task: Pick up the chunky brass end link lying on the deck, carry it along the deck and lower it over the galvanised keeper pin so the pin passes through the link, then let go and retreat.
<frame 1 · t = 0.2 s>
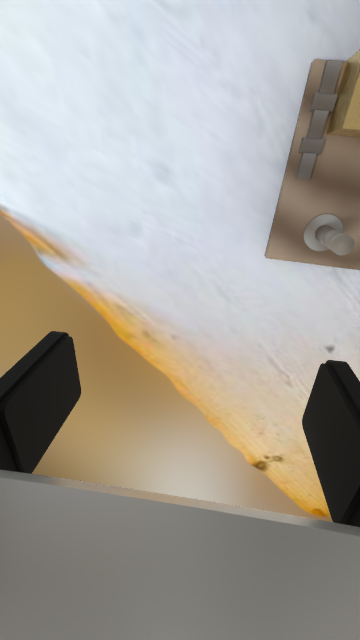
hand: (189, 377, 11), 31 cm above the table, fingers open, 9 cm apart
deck: (336, 178, 33), on the table
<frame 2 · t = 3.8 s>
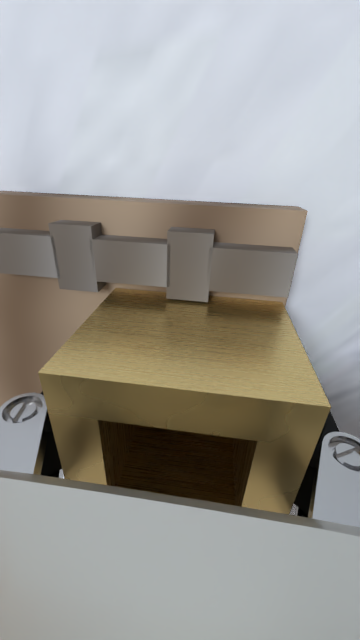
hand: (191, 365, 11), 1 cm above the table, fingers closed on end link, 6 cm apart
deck: (49, 331, 13), on the table
end link: (191, 362, 12), point 1 cm above the table, touching gripper
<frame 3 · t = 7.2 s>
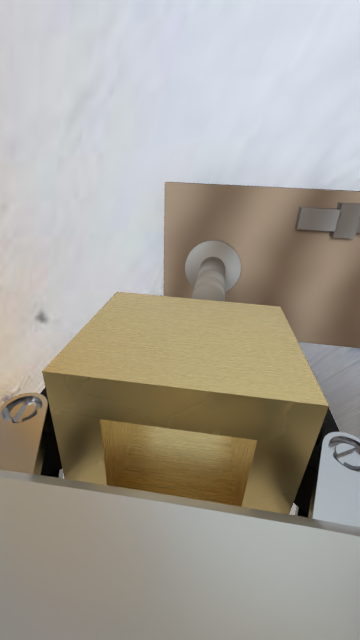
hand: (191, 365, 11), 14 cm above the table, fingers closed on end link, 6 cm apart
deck: (286, 269, 23), on the table
end link: (191, 366, 12), point 14 cm above the table, touching gripper
when the fingers open (2 cm above the table, at t = 10.3 s): end link stays where it is, resting on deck.
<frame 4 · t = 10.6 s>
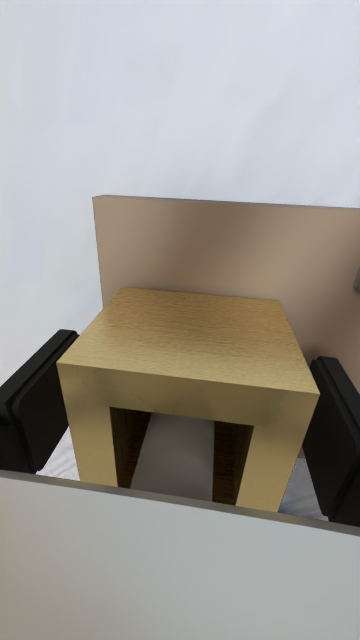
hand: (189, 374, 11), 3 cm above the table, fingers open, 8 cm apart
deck: (326, 348, 13), on the table
end link: (193, 358, 12), point 2 cm above the table, touching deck
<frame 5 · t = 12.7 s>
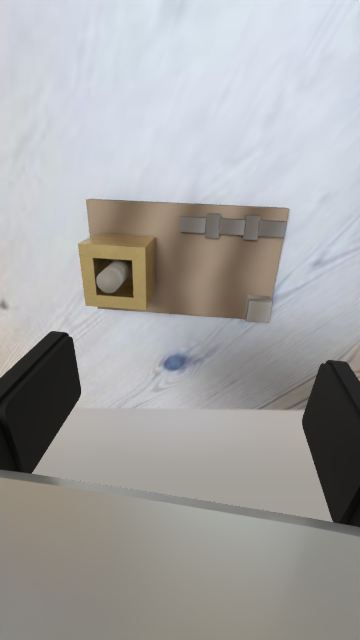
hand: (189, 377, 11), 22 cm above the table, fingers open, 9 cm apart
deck: (183, 261, 31), on the table
end link: (127, 263, 30), point 2 cm above the table, touching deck
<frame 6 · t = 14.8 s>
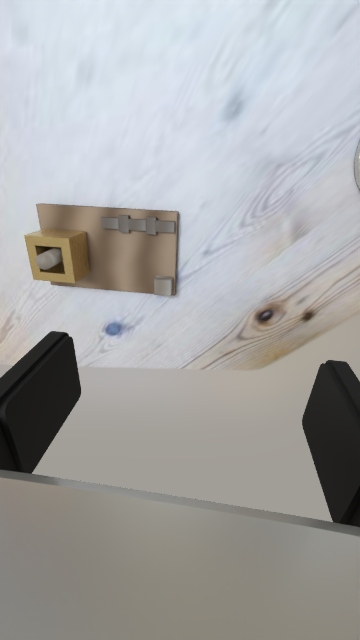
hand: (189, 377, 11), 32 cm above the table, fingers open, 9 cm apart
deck: (111, 249, 42), on the table
end link: (68, 250, 42), point 2 cm above the table, touching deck
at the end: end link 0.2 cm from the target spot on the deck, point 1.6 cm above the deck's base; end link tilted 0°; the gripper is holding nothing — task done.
